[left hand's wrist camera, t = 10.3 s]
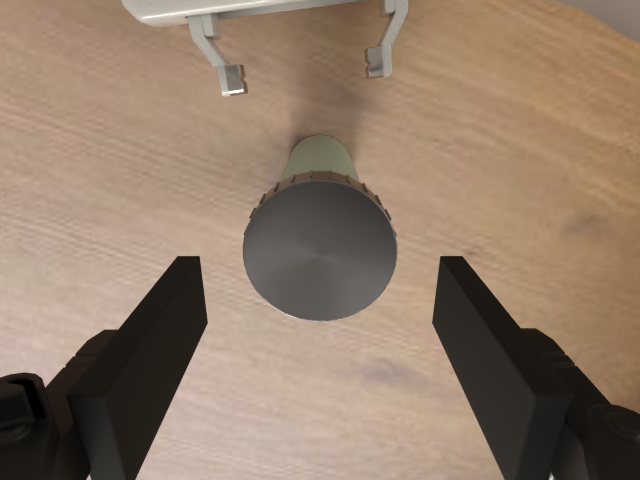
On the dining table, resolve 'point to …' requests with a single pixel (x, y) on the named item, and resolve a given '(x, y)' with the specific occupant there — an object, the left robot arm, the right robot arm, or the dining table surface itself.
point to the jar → (320, 157)
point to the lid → (319, 246)
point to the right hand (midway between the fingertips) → (306, 86)
